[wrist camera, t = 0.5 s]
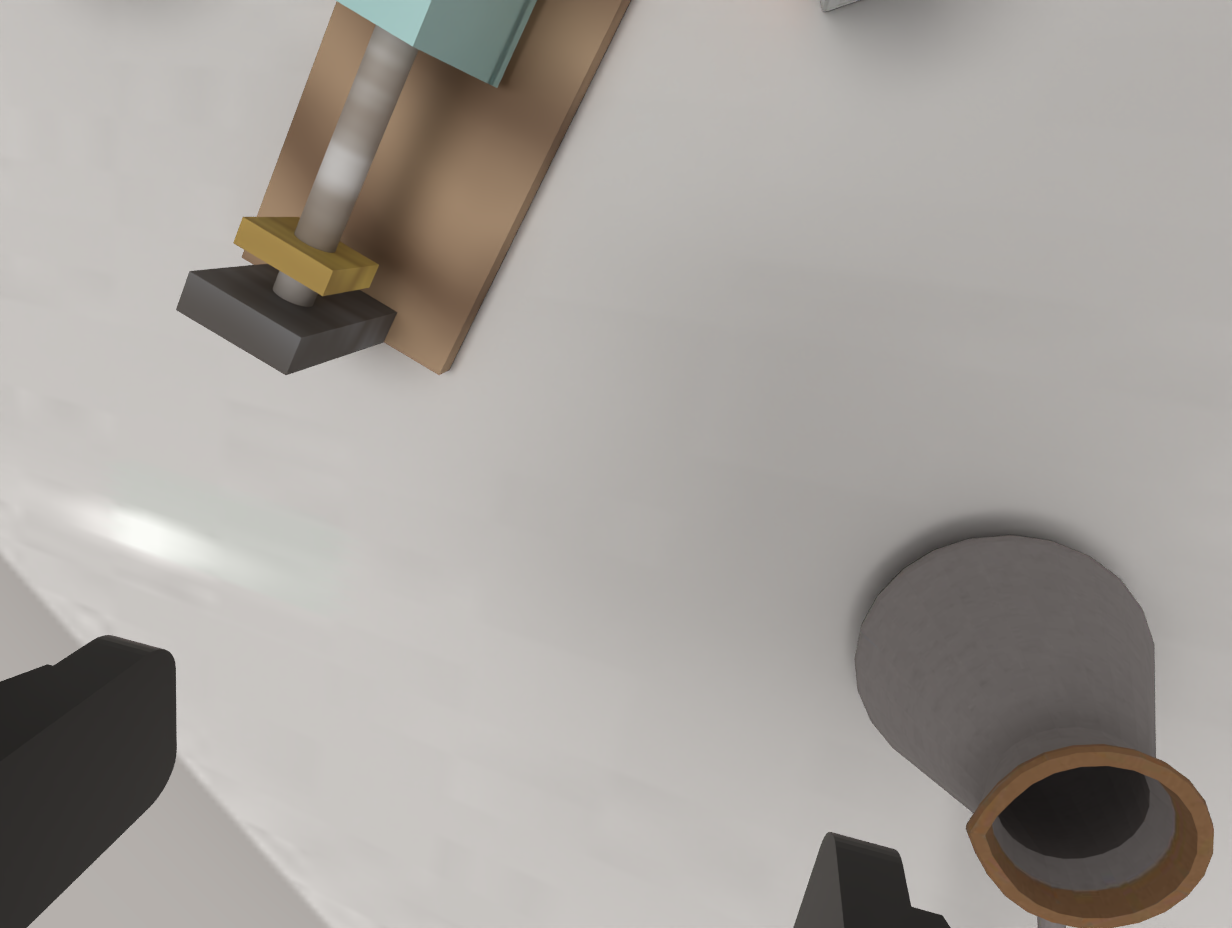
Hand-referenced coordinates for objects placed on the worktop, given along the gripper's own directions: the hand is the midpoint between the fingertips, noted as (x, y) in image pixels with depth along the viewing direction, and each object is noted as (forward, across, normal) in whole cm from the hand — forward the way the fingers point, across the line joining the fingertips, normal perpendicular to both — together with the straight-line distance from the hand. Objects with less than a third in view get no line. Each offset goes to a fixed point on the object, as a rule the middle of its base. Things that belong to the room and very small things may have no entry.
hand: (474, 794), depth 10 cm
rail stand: (+27, +11, -10) cm, 31 cm away
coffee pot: (+27, -16, +14) cm, 34 cm away
